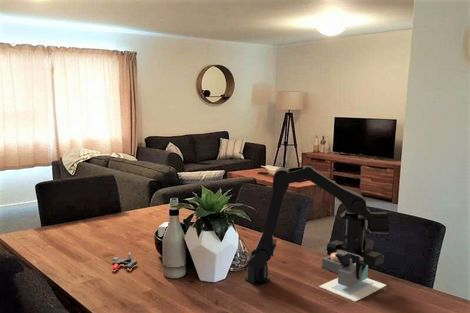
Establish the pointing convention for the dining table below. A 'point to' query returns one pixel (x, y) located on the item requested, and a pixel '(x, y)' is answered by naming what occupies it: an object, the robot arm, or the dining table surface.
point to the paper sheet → (353, 288)
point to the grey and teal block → (351, 275)
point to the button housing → (332, 264)
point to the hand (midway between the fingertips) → (353, 277)
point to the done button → (334, 258)
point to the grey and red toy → (124, 262)
